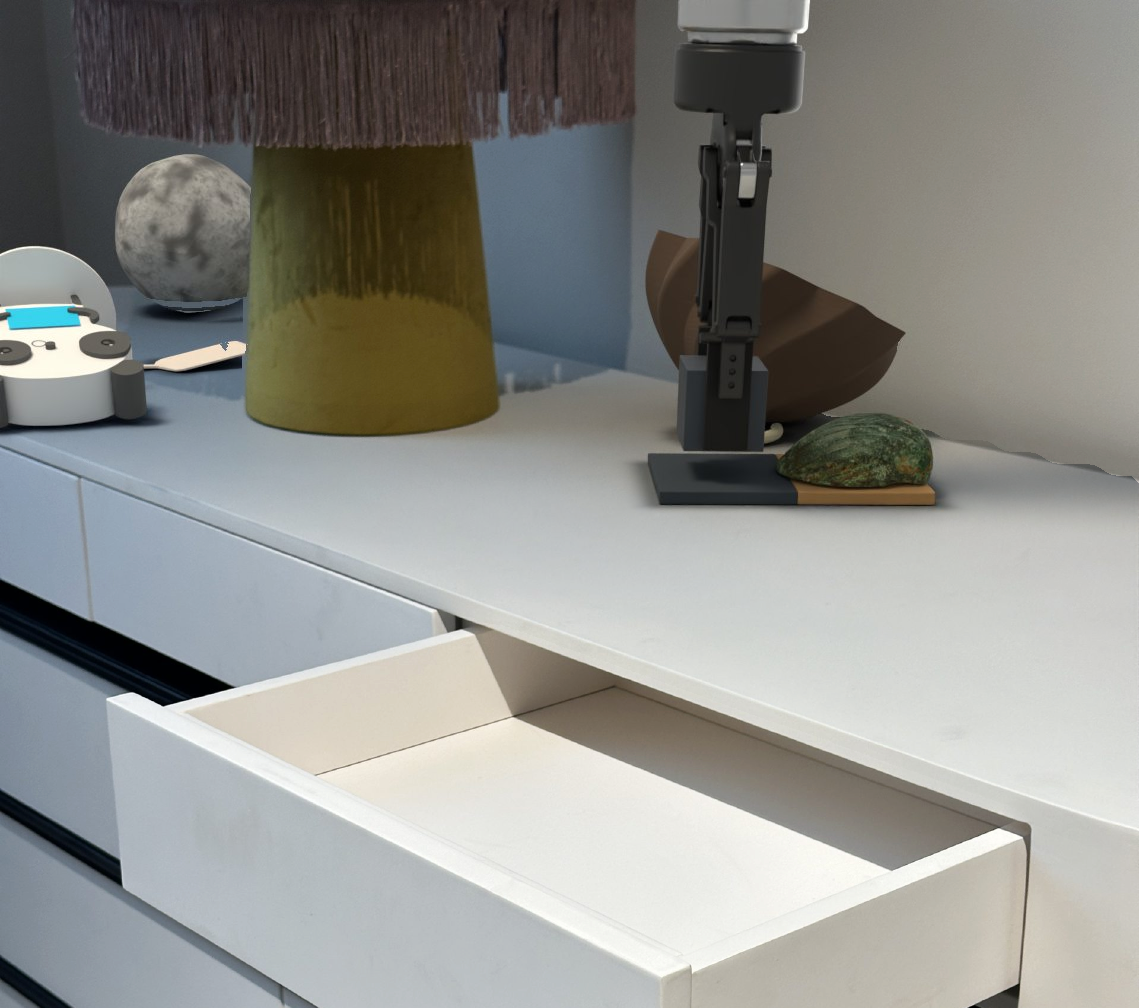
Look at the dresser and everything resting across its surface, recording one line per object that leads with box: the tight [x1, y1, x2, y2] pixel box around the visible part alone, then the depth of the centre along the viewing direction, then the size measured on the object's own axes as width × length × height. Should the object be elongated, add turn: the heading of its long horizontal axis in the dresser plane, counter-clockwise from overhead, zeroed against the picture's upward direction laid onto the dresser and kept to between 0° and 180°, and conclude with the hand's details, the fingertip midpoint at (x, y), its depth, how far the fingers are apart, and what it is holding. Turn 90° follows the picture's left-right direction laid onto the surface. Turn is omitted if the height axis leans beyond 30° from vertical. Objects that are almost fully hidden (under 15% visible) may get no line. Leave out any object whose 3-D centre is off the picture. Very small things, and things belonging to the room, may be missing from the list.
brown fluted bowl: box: [644, 229, 907, 424], centre depth 122 cm, size 19×20×10 cm
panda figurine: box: [0, 245, 148, 429], centre depth 124 cm, size 12×11×15 cm
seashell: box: [775, 412, 934, 487], centre depth 107 cm, size 10×4×10 cm
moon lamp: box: [114, 153, 252, 311], centre depth 165 cm, size 15×16×15 cm
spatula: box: [143, 340, 247, 372], centre depth 138 cm, size 6×29×2 cm, turn 121°
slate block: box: [675, 355, 768, 453], centre depth 106 cm, size 5×5×5 cm
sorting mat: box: [647, 452, 936, 506], centre depth 108 cm, size 17×10×1 cm, turn 92°
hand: (719, 437), depth 107 cm, fingers closed on slate block, 5 cm apart
